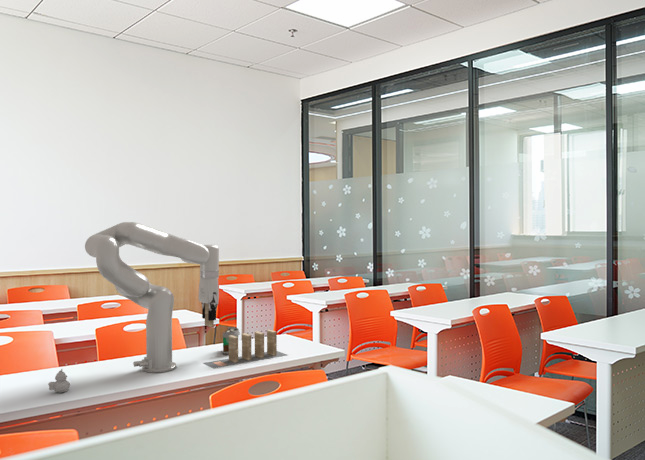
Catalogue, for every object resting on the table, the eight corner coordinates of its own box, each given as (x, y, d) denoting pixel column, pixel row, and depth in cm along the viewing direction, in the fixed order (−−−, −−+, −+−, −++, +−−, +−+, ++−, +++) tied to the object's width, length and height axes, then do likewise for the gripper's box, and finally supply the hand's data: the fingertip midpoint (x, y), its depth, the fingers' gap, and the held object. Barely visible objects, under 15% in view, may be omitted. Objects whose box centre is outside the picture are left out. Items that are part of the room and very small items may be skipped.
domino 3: (248, 360, 220) (247, 335, 220) (241, 357, 224) (241, 333, 224) (251, 359, 221) (251, 335, 221) (245, 357, 225) (245, 333, 225)
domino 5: (273, 355, 228) (273, 332, 227) (267, 353, 232) (267, 330, 231) (276, 355, 229) (276, 331, 228) (270, 353, 233) (270, 329, 232)
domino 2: (234, 362, 217) (234, 337, 217) (228, 360, 221) (228, 335, 221) (238, 362, 218) (238, 337, 218) (232, 359, 222) (232, 335, 222)
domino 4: (260, 358, 224) (260, 333, 224) (254, 355, 228) (254, 331, 228) (264, 357, 225) (264, 333, 225) (258, 355, 229) (257, 331, 229)
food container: (237, 356, 228) (237, 332, 228) (222, 356, 229) (222, 332, 228) (242, 349, 241) (242, 326, 241) (228, 349, 241) (228, 326, 241)
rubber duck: (71, 392, 181) (71, 368, 181) (49, 396, 177) (49, 371, 177) (68, 388, 186) (68, 365, 185) (47, 392, 182) (46, 368, 182)
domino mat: (213, 369, 209) (213, 368, 209) (202, 364, 217) (202, 362, 217) (288, 355, 229) (288, 354, 229) (275, 351, 237) (275, 350, 237)
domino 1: (210, 327, 222) (210, 302, 222) (204, 325, 226) (204, 301, 226) (213, 326, 223) (213, 302, 223) (208, 324, 227) (208, 300, 227)
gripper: (192, 273, 229) (191, 317, 229) (210, 277, 215) (209, 323, 215) (208, 272, 233) (208, 315, 234) (227, 276, 220) (226, 321, 220)
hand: (209, 318), depth 225 cm, fingers closed on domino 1, 4 cm apart
